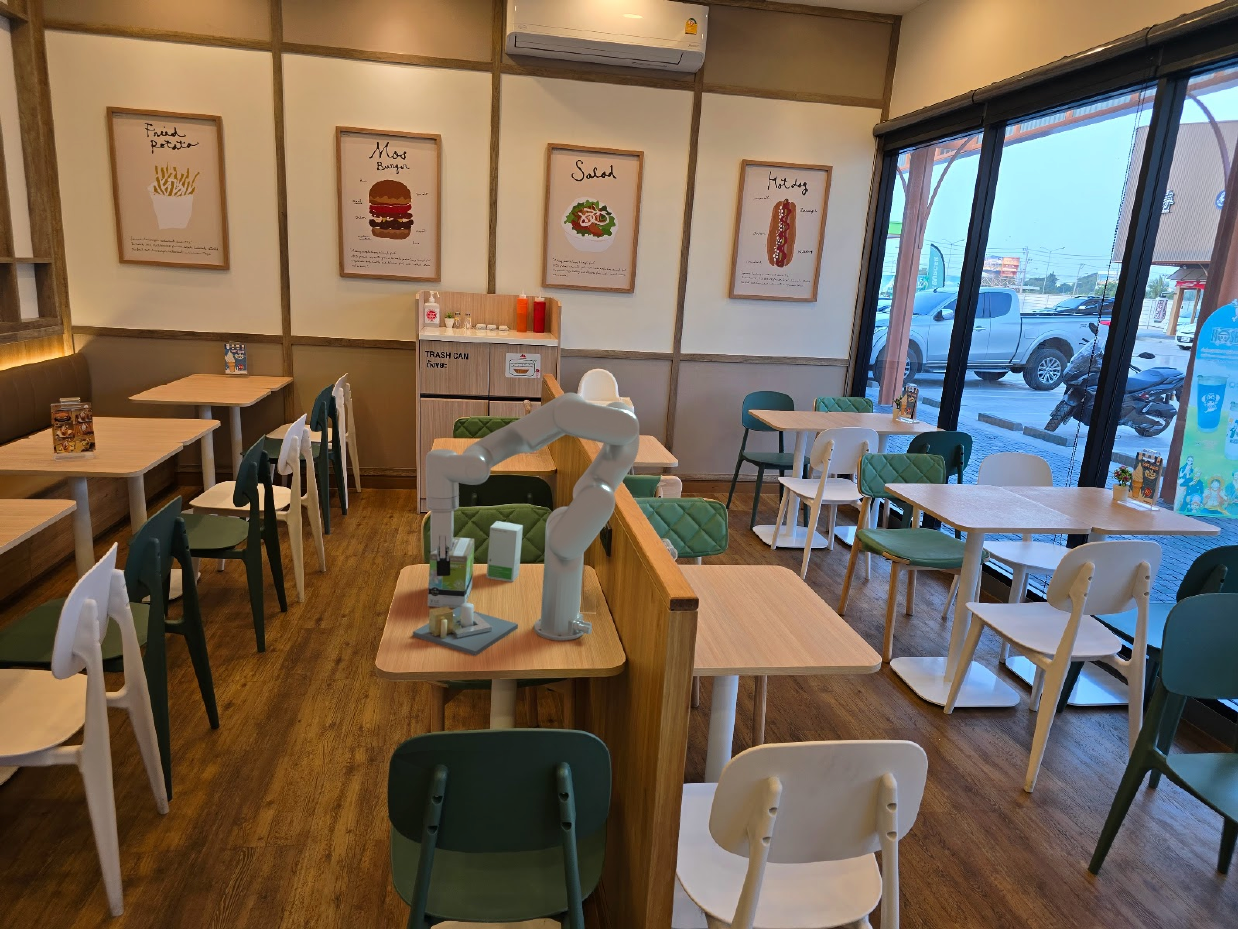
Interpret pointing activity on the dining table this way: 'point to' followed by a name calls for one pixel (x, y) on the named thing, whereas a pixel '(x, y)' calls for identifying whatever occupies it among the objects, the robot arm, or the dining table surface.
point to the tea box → (452, 576)
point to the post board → (471, 642)
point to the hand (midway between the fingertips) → (443, 574)
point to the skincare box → (504, 551)
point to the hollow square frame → (455, 623)
